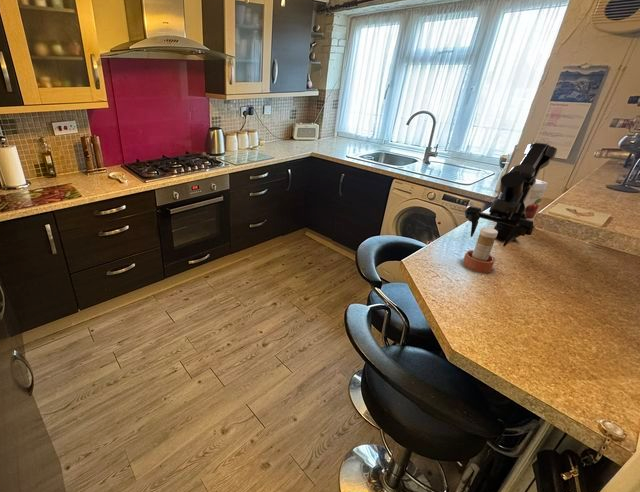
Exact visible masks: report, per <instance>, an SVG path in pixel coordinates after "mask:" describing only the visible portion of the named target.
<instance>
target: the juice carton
mask: <svg viewBox="0 0 640 492" xmlns="http://www.w3.org/2000/svg"><path fill="white" fill-rule="evenodd" d="M548 184H549V182H546V181H544V180H540V179H537V178H536V182H535V184H534V185H533V186H532V187H531V189H530V191H529V193H528V195H527V197H526V199H525V201H524V205H525V213H524V214H526V220H530V221H534V219H535V216H536V214H537V211H538V210H539V206H540V204H541V202H542V200H543V197H544V194H545V192H546V191H547V190H546V189H547V187H548ZM533 218H534V219H533Z"/></svg>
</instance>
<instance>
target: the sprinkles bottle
mask: <svg viewBox="0 0 640 492" xmlns="http://www.w3.org/2000/svg"><path fill="white" fill-rule="evenodd" d="M497 234H498V231H497V230H495V229H494V228H493V227H486V226H484V227H481V228H480V229H479V235H478V237H477V241H476V243H475V246H474V248H473V250H474V251H473V255H472V258H473V259H476V260H479V261H483V262H487V259H488V257H489V255H491V252H492V249H493V246H494V243H495V241H496V239H497V238H496V237H497Z"/></svg>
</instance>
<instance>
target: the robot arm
mask: <svg viewBox="0 0 640 492" xmlns="http://www.w3.org/2000/svg"><path fill="white" fill-rule="evenodd" d="M557 153H558V149H557V147H555V146H552V145H550V144H548V143H544V142H543V143H542V142H531V143H530V144H527V145H526V148H525V150H524V152H523V155H524V157H523V158H522V160H521V162H520V163H519V164H518V165H515V166H512V168H511V169H510V170H509V171H507V172H505V174H503V176H501V177H500V188H499V191H500V193H499V195H498V197H497V198H496V199H493V200H492V203H491V205H490V206H489V209H488V212H489V213H486V212H482V208H481V207H479V206H478V207H477V206H473V205H469V206H466V208H465V210H464V217H465V219H467V221H468V222H470V223H471V227H470V238H472V237H473V236H474V235H475V232H476V230H477V228H478V224H479V220H480V219H483V220H487V221H491V222H494V223H496V224H495V225H494V228H493V229H495V230H497V231H498V234H497V237H496V238H495V239H497V240H498V241H499V242H503V244H502V247H506V246H508V245H509V244H510V243H511V242H517V240H518V239H517V238H519V237H525V236H532V234H533V232H534V230H535V226H533V221H534V220H533V221H530V220H526V214H524V213H525V205H524V201H525V199H526V197H527V195H528V193H529V191H530V189H531V187H532V186H533V185H534V184H535V182H536V179H537V177H538V175H539V174H540V171H541V170H542V169H544V168H545V167H547V166H548V165H549V164H550V162H551V160H554V159H555V157H556V154H557Z"/></svg>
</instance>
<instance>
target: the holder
mask: <svg viewBox="0 0 640 492" xmlns="http://www.w3.org/2000/svg"><path fill="white" fill-rule="evenodd" d="M473 251H474V249H470V250H466V251H465V254H464V256H463V260H462V265H463V267H465V268H466V269H468V270H470V271H473V272H476V273H480V274H481V273H482V274H487V273H490V272H491V271H492V269H493V266H494V264H495V261H496V260H495V257H493V255H491V254H489V257H488V259H487V262H483V261H479V260H476V259H473V258H472V255H473Z"/></svg>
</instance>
